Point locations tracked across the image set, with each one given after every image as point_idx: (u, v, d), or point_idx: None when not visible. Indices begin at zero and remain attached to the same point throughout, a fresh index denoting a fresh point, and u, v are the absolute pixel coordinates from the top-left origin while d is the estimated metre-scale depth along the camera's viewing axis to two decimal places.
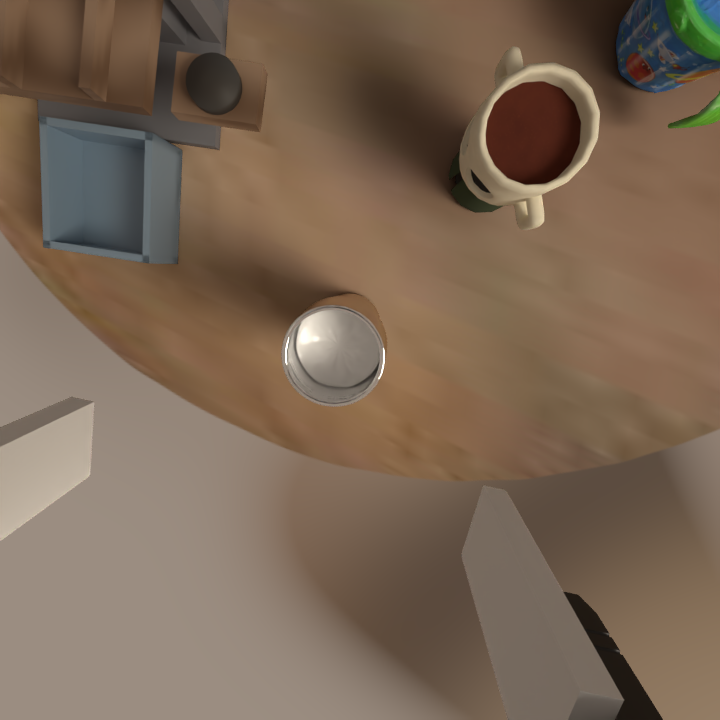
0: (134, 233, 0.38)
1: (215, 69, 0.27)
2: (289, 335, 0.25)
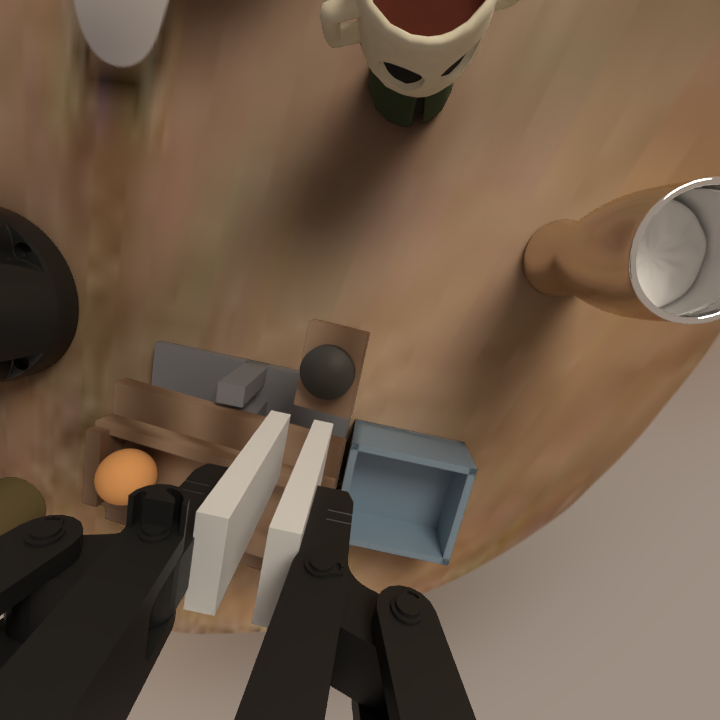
0: (432, 478, 0.37)
1: (315, 368, 0.26)
2: (659, 310, 0.19)
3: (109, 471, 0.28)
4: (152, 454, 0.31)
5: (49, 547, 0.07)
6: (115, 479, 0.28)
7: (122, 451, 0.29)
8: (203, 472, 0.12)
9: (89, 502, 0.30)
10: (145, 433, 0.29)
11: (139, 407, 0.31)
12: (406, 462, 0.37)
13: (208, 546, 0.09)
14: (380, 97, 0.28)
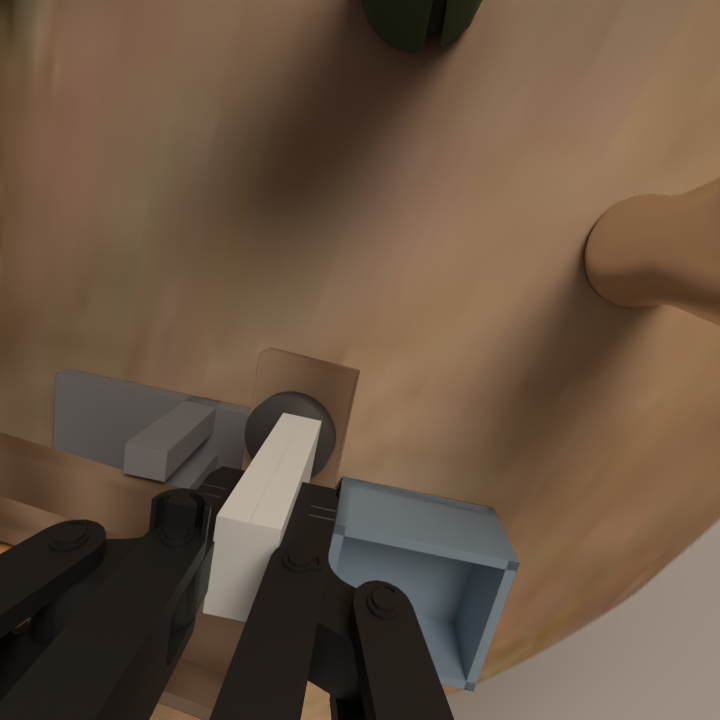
0: (448, 558, 0.27)
1: (269, 432, 0.16)
2: None
3: None
4: None
5: (73, 552, 0.07)
6: None
7: None
8: (219, 475, 0.12)
9: None
10: (10, 525, 0.19)
11: (9, 479, 0.20)
12: None
13: (228, 549, 0.09)
14: None
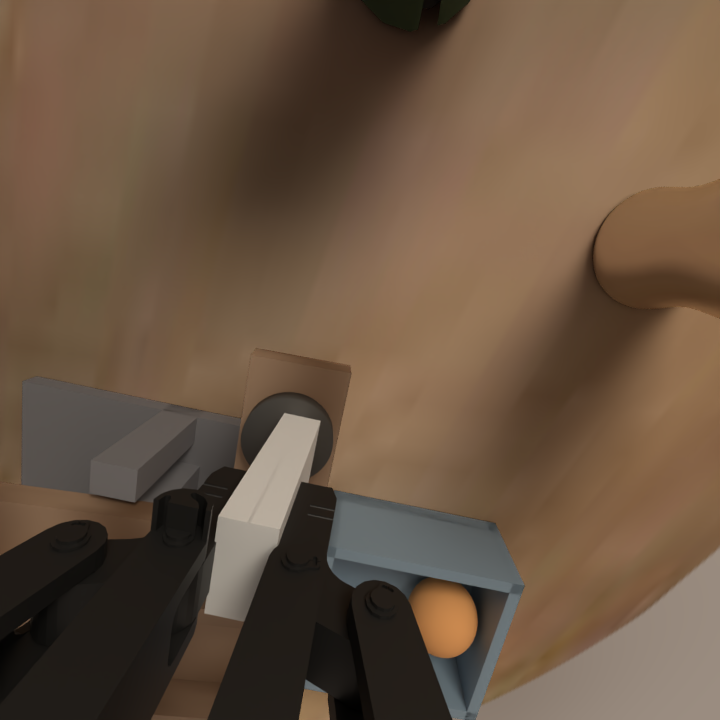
0: None
1: (268, 436, 0.16)
2: None
3: (426, 605, 0.22)
4: None
5: (74, 553, 0.07)
6: (430, 621, 0.22)
7: (443, 582, 0.23)
8: (221, 475, 0.12)
9: None
10: None
11: None
12: None
13: (230, 550, 0.09)
14: None
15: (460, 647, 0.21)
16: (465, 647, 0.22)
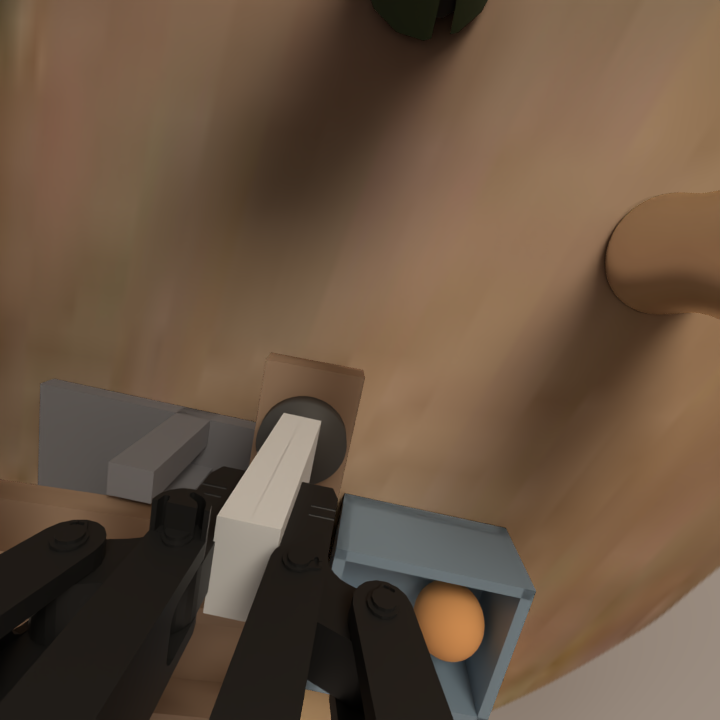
0: None
1: None
2: None
3: (431, 606, 0.22)
4: None
5: (73, 552, 0.07)
6: (433, 621, 0.22)
7: (450, 585, 0.23)
8: (219, 475, 0.12)
9: None
10: None
11: None
12: None
13: (229, 550, 0.09)
14: None
15: (463, 651, 0.21)
16: (469, 652, 0.22)
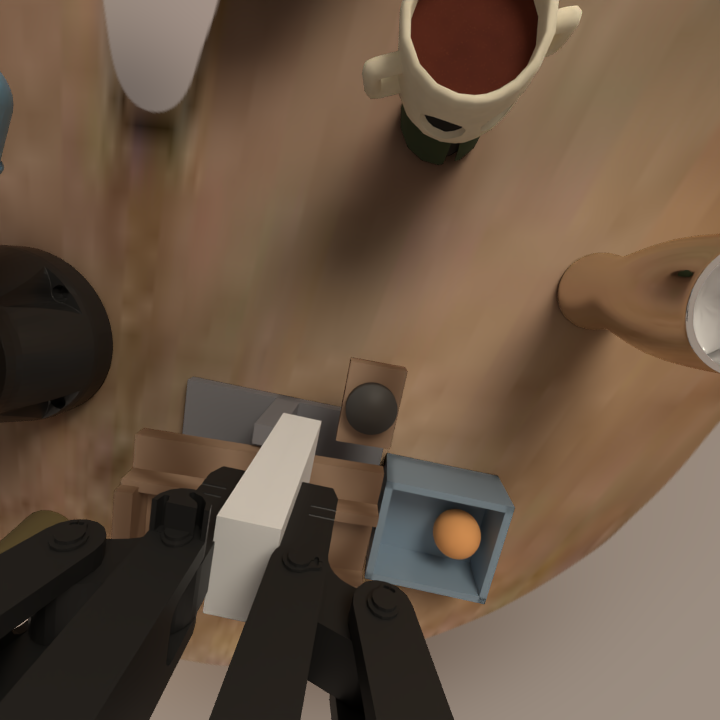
0: None
1: (361, 407, 0.28)
2: (718, 365, 0.19)
3: (443, 521, 0.34)
4: None
5: (73, 552, 0.07)
6: (444, 530, 0.33)
7: (458, 510, 0.35)
8: (219, 475, 0.12)
9: None
10: (180, 486, 0.28)
11: (165, 458, 0.29)
12: None
13: (229, 550, 0.09)
14: (414, 138, 0.28)
15: (464, 549, 0.33)
16: (468, 551, 0.33)
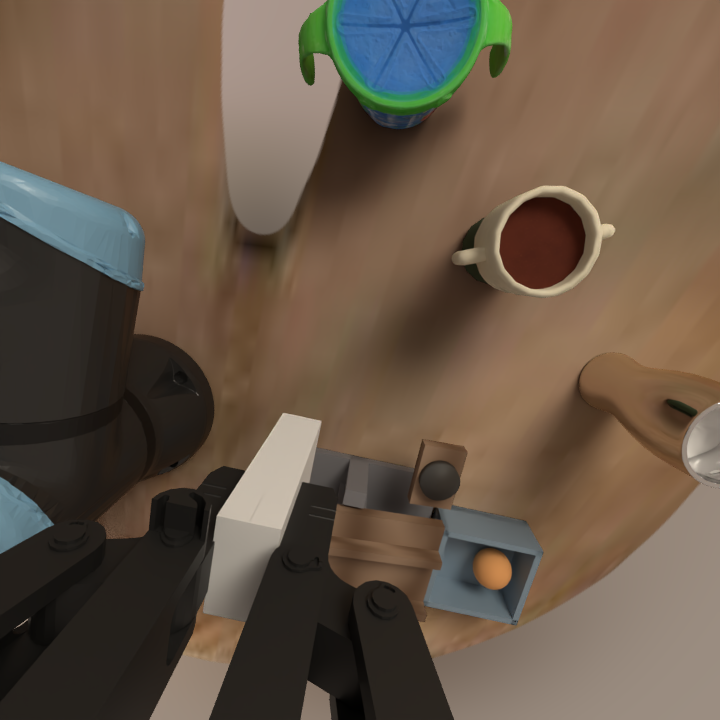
0: (499, 550, 0.45)
1: (432, 480, 0.36)
2: (702, 479, 0.27)
3: (482, 558, 0.43)
4: None
5: (73, 552, 0.07)
6: (482, 565, 0.42)
7: (493, 550, 0.43)
8: (219, 475, 0.12)
9: None
10: None
11: None
12: None
13: (229, 549, 0.09)
14: (475, 271, 0.37)
15: (497, 582, 0.41)
16: (500, 584, 0.42)
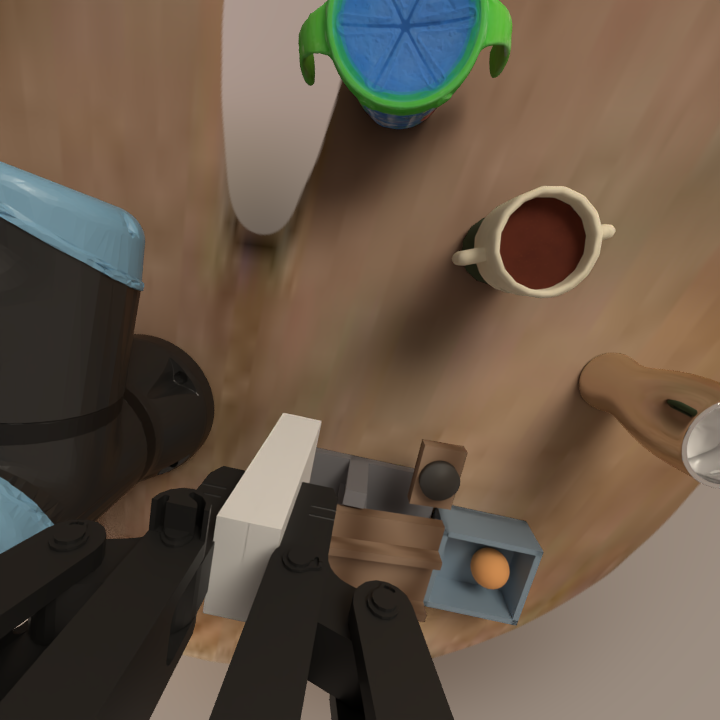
0: (499, 550, 0.45)
1: (432, 480, 0.36)
2: (702, 479, 0.27)
3: (479, 556, 0.43)
4: None
5: (73, 552, 0.07)
6: (478, 563, 0.42)
7: (492, 549, 0.43)
8: (219, 475, 0.12)
9: None
10: None
11: None
12: None
13: (229, 549, 0.09)
14: (475, 271, 0.37)
15: (493, 581, 0.41)
16: (496, 583, 0.41)
